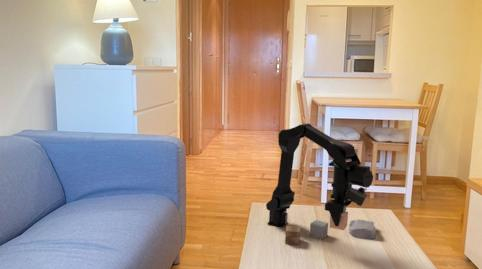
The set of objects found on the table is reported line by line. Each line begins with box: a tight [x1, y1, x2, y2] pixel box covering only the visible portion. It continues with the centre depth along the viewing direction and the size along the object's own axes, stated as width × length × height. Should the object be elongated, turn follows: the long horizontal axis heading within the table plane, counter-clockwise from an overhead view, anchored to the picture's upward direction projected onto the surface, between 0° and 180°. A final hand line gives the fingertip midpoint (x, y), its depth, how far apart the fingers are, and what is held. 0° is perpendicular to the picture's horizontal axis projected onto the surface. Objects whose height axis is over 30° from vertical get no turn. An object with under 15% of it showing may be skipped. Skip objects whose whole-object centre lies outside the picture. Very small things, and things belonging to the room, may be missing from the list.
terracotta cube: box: [329, 210, 349, 231], centre depth 143 cm, size 5×5×5 cm
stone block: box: [348, 219, 377, 240], centre depth 160 cm, size 12×5×10 cm
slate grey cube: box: [309, 219, 329, 240], centre depth 156 cm, size 5×5×5 cm
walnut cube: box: [284, 225, 301, 246], centre depth 150 cm, size 5×5×5 cm
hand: (338, 223), depth 143 cm, fingers closed on terracotta cube, 5 cm apart
